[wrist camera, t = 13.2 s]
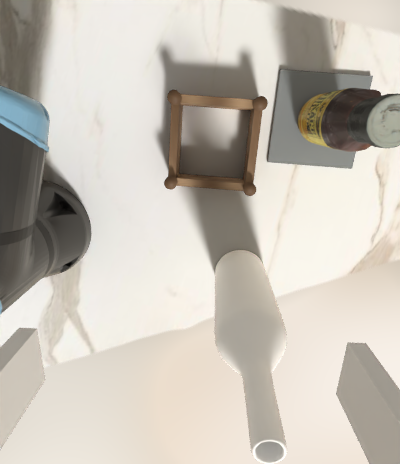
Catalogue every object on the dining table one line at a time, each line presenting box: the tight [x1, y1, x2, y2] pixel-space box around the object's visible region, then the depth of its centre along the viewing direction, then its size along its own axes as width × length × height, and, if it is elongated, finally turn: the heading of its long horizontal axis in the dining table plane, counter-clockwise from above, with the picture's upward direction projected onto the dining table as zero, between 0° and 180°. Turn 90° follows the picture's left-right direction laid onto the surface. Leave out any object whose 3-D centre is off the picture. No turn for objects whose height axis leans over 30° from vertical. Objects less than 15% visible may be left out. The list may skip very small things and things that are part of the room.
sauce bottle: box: [298, 88, 400, 152], centre depth 33 cm, size 7×6×20 cm
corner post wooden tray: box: [164, 90, 267, 196], centre depth 42 cm, size 12×12×6 cm
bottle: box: [215, 250, 287, 464], centre depth 37 cm, size 8×8×30 cm
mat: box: [267, 69, 373, 169], centre depth 43 cm, size 12×12×1 cm
